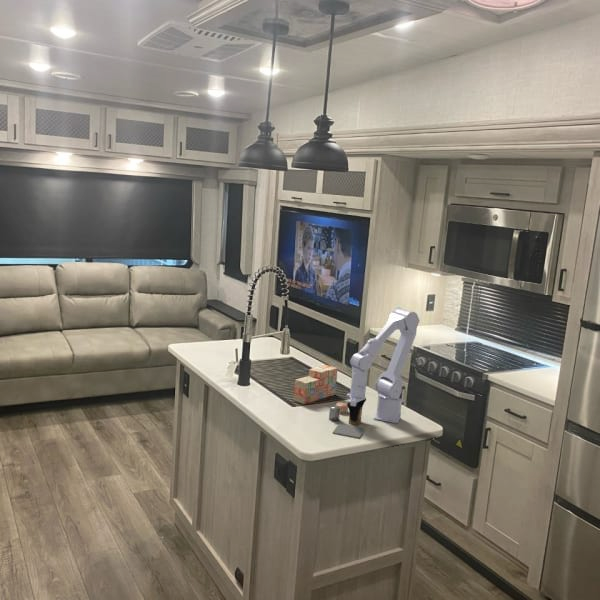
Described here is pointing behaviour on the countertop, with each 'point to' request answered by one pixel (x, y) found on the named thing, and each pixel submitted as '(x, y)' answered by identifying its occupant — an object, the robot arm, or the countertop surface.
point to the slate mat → (349, 430)
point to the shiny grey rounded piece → (334, 413)
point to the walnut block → (357, 418)
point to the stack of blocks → (316, 384)
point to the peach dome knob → (342, 408)
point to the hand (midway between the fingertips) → (355, 418)
